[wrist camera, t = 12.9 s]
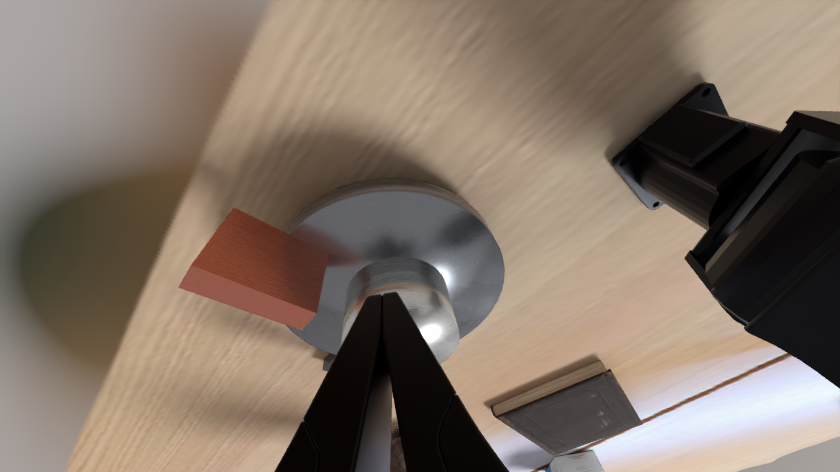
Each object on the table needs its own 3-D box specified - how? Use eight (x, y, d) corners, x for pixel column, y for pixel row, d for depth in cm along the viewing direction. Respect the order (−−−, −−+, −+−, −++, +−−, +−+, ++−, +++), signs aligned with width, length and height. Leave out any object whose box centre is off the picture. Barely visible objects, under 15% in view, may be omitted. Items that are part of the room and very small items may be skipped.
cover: (445, 249, 19) (462, 305, 15) (447, 319, 23) (461, 376, 19) (334, 265, 19) (324, 327, 15) (357, 333, 23) (354, 394, 19)
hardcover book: (600, 354, 37) (611, 371, 35) (633, 409, 50) (642, 424, 48) (488, 401, 41) (494, 419, 40) (544, 441, 54) (550, 456, 52)
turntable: (506, 158, 18) (560, 216, 13) (488, 325, 28) (514, 397, 22) (228, 191, 17) (163, 268, 12) (311, 352, 27) (295, 433, 21)
